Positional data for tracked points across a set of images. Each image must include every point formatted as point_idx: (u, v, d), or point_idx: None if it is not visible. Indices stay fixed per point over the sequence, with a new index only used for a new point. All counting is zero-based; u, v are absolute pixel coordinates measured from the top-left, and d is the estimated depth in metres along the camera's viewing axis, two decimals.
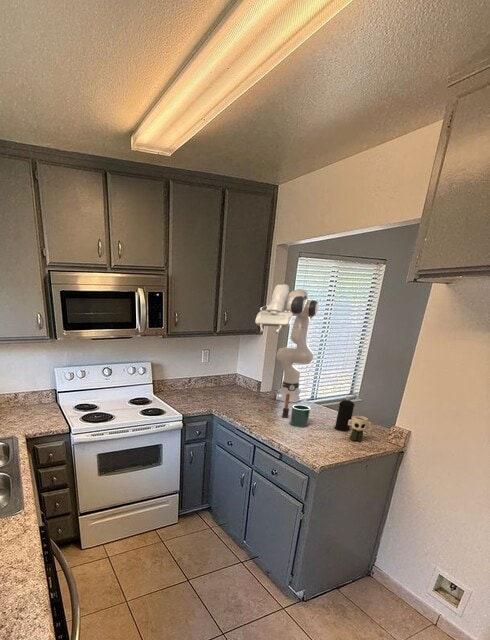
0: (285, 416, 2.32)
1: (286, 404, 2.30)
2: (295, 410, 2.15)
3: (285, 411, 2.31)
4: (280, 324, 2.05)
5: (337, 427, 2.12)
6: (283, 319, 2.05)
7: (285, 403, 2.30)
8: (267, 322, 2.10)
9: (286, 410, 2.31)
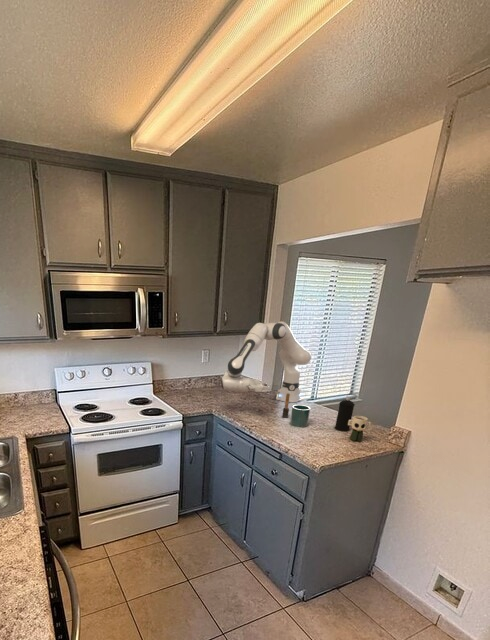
0: (285, 416, 2.32)
1: (286, 404, 2.30)
2: (295, 410, 2.15)
3: (285, 411, 2.31)
4: None
5: (337, 427, 2.12)
6: None
7: (285, 403, 2.30)
8: None
9: (286, 410, 2.31)
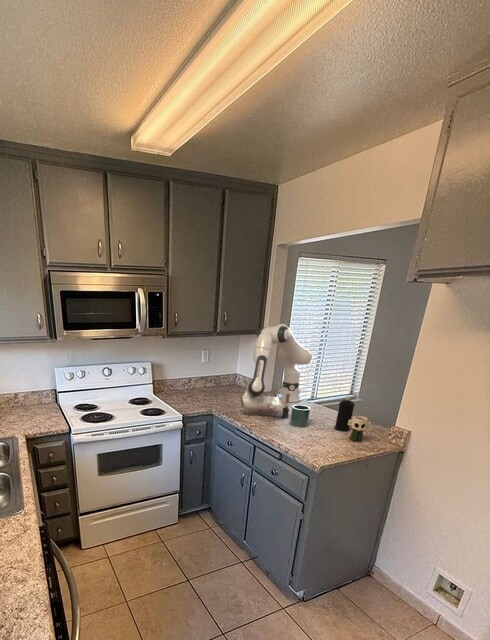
0: (285, 416, 2.32)
1: None
2: (295, 410, 2.15)
3: (285, 411, 2.31)
4: None
5: (337, 427, 2.12)
6: None
7: None
8: None
9: (286, 410, 2.31)
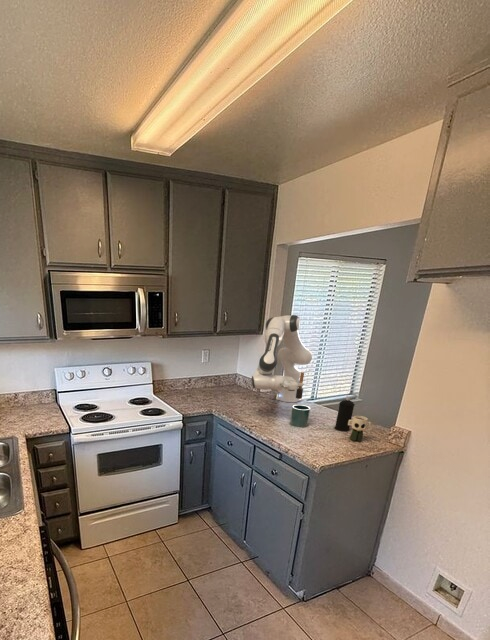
0: (299, 397, 2.16)
1: None
2: (295, 410, 2.15)
3: (299, 391, 2.15)
4: None
5: (337, 427, 2.12)
6: None
7: None
8: None
9: (300, 390, 2.15)
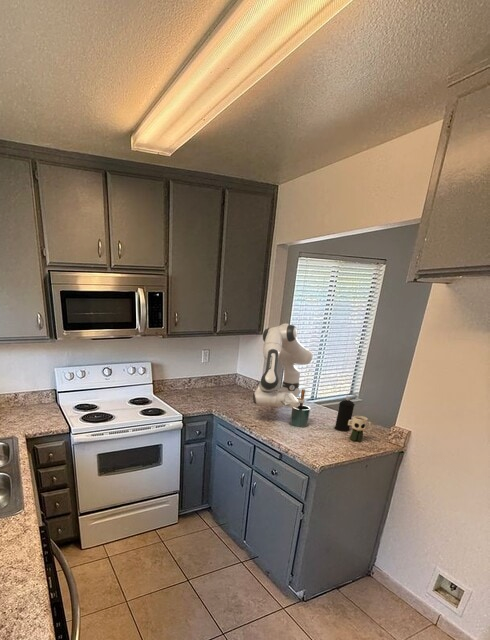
0: None
1: None
2: (295, 410, 2.15)
3: (300, 408, 2.17)
4: None
5: (337, 427, 2.12)
6: None
7: (300, 399, 2.17)
8: None
9: (301, 407, 2.17)
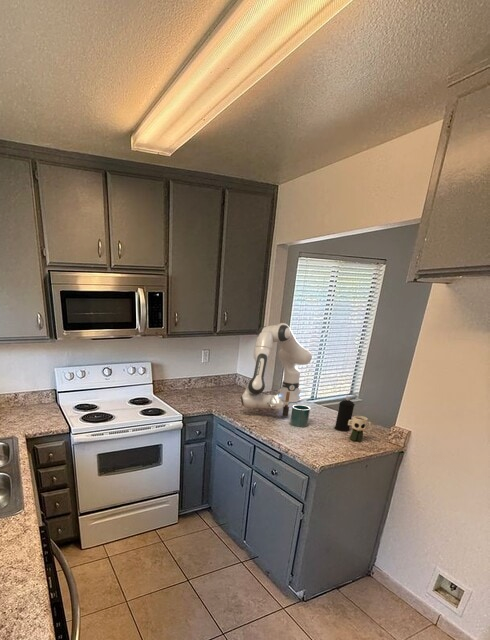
0: (285, 414, 2.32)
1: None
2: (295, 410, 2.15)
3: (285, 409, 2.31)
4: None
5: (337, 427, 2.12)
6: None
7: (285, 401, 2.30)
8: None
9: (286, 408, 2.30)
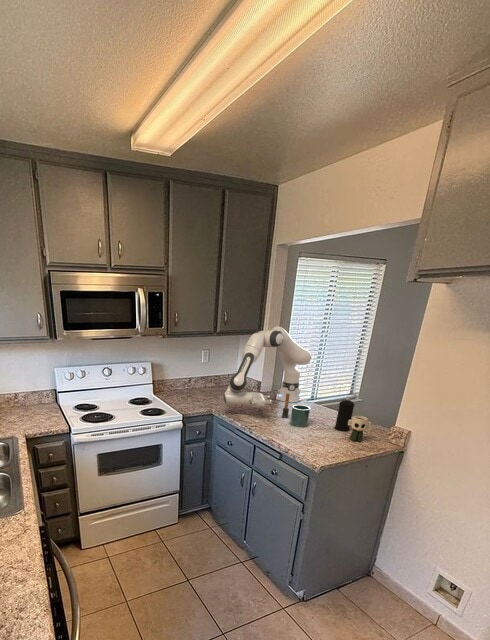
0: (285, 416, 2.32)
1: (286, 404, 2.30)
2: (295, 410, 2.15)
3: (285, 411, 2.31)
4: None
5: (337, 427, 2.12)
6: None
7: (285, 403, 2.30)
8: None
9: (286, 410, 2.30)
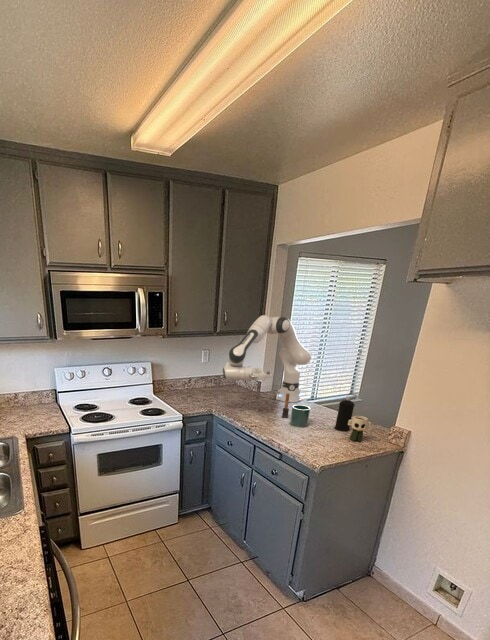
0: (285, 416, 2.32)
1: (286, 404, 2.30)
2: (295, 410, 2.15)
3: (285, 411, 2.31)
4: None
5: (337, 427, 2.12)
6: None
7: (285, 403, 2.30)
8: None
9: (286, 410, 2.30)
